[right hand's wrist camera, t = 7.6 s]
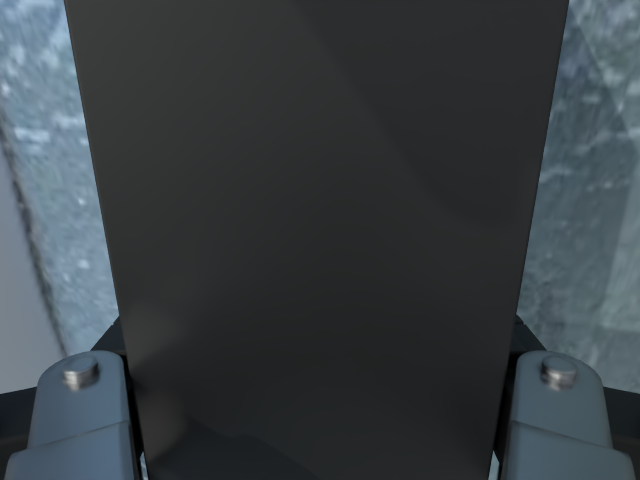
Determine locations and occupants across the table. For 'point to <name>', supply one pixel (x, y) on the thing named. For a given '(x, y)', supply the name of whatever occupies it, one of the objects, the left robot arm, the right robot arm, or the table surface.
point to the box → (317, 224)
